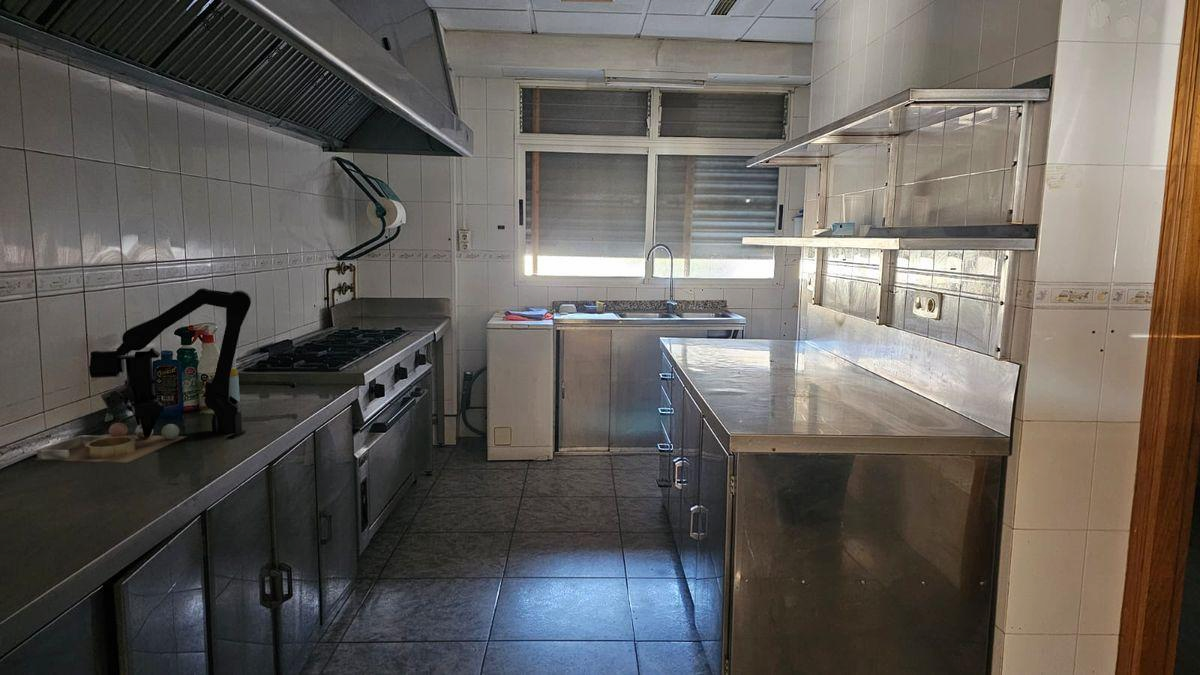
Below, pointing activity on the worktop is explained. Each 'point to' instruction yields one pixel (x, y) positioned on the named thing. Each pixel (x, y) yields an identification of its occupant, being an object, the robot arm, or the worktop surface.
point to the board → (76, 452)
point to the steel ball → (140, 432)
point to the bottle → (234, 382)
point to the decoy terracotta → (118, 430)
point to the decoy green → (170, 431)
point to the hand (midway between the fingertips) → (144, 434)
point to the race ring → (110, 447)
